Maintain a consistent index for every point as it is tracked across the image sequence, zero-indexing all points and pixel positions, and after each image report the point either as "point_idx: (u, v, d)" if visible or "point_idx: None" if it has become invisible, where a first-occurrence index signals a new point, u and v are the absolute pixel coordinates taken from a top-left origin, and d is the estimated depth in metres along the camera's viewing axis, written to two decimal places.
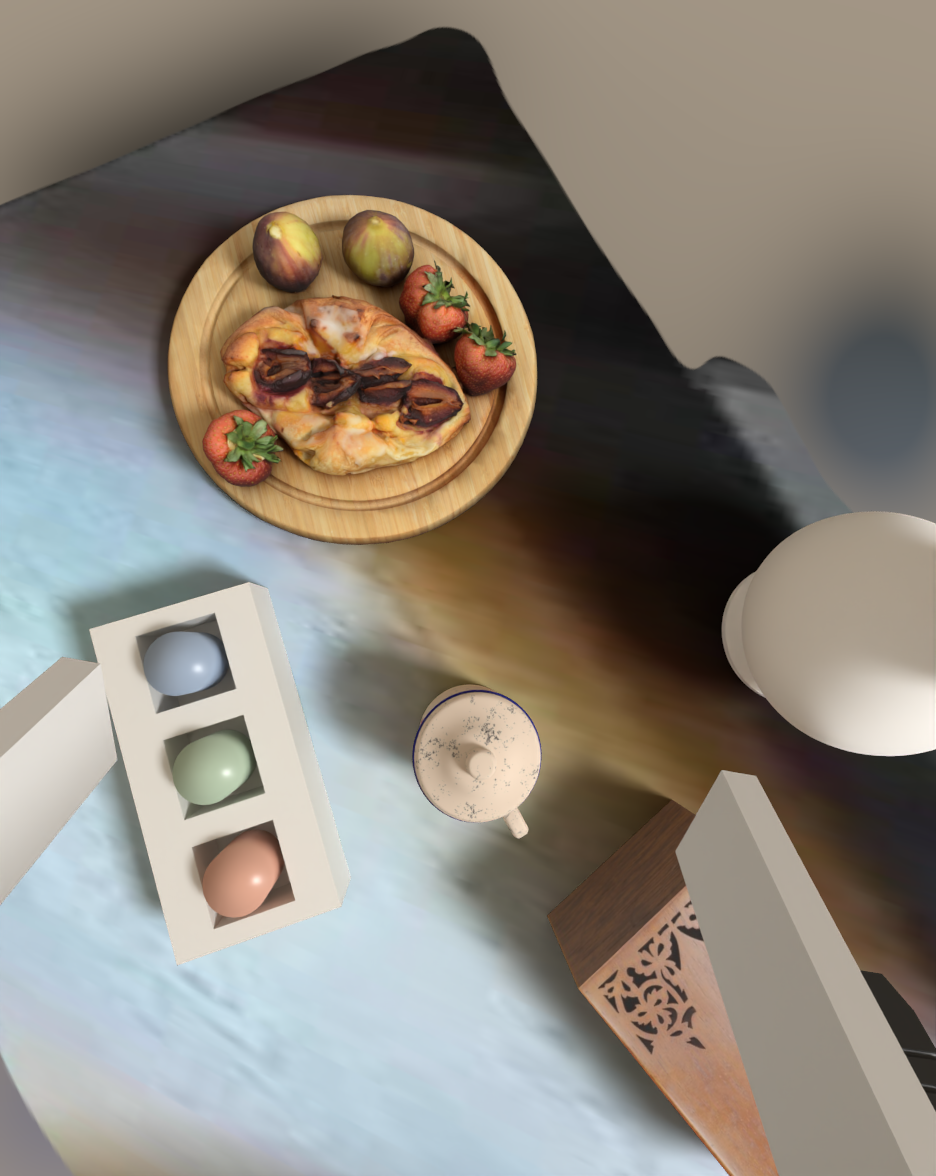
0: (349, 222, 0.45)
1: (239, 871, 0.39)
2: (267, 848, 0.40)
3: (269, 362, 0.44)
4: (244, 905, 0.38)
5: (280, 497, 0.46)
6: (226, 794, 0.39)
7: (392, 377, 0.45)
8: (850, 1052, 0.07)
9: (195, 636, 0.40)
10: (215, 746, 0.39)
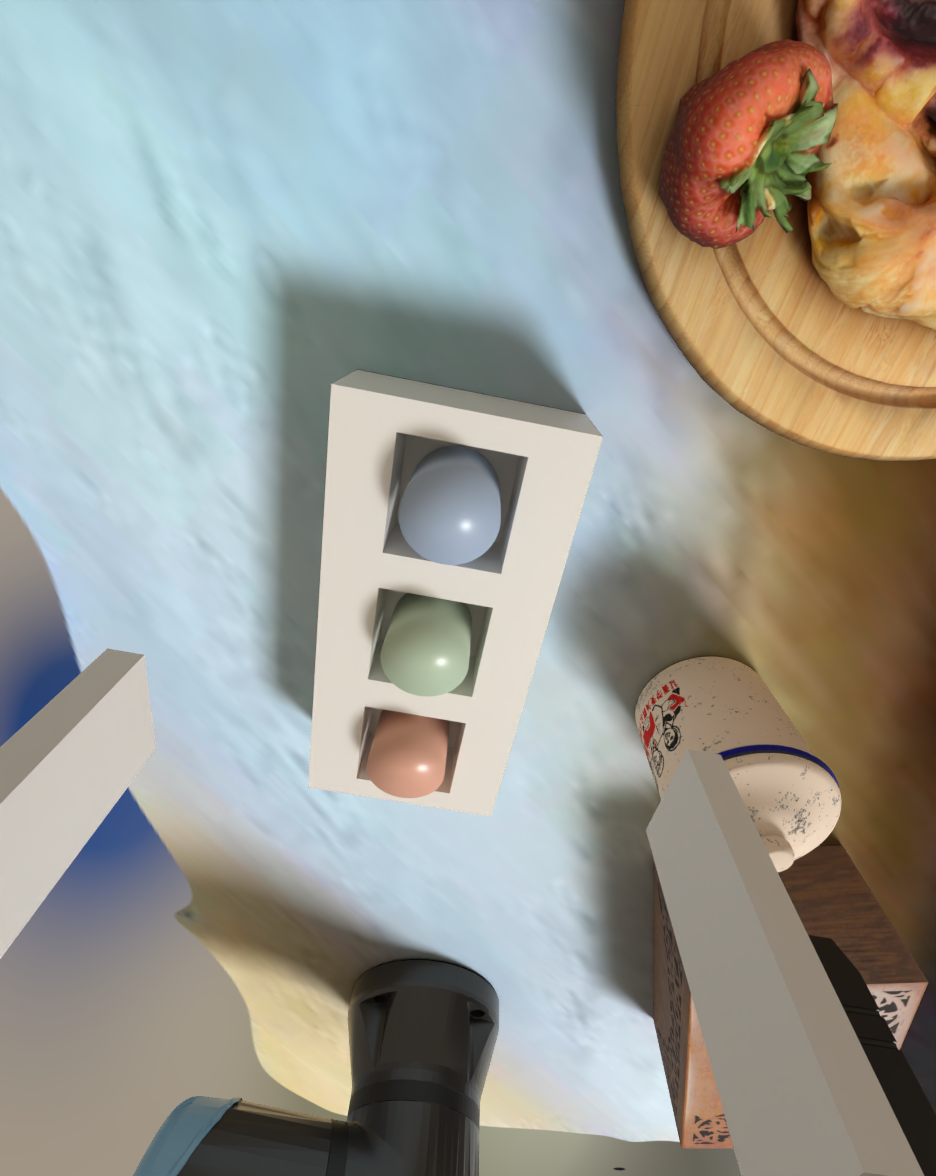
0: None
1: (414, 764, 0.32)
2: (444, 741, 0.33)
3: None
4: (404, 790, 0.33)
5: (713, 279, 0.24)
6: (436, 694, 0.29)
7: None
8: (790, 1005, 0.08)
9: (493, 493, 0.24)
10: (449, 641, 0.28)
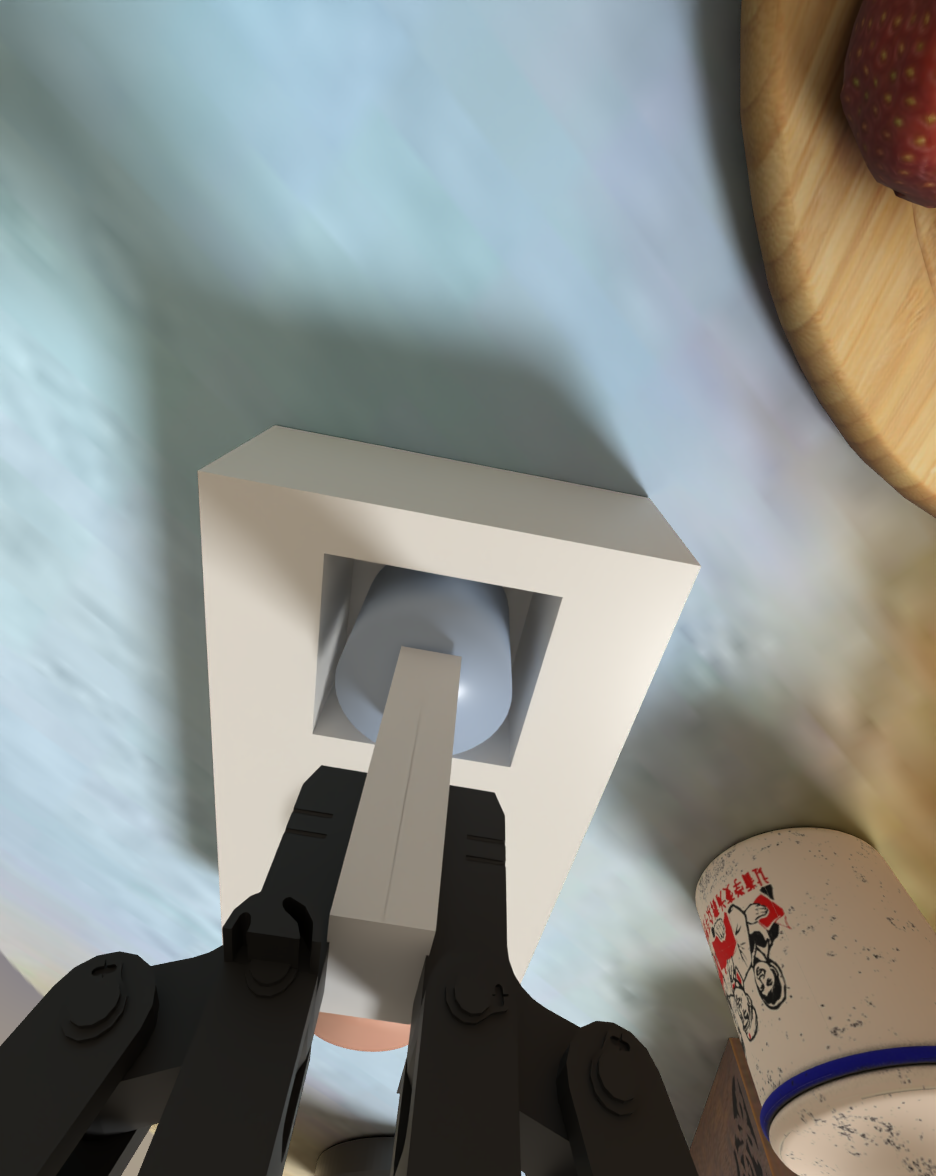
0: None
1: None
2: None
3: None
4: (361, 1043, 0.22)
5: (906, 277, 0.13)
6: None
7: None
8: (400, 823, 0.09)
9: (500, 653, 0.14)
10: None
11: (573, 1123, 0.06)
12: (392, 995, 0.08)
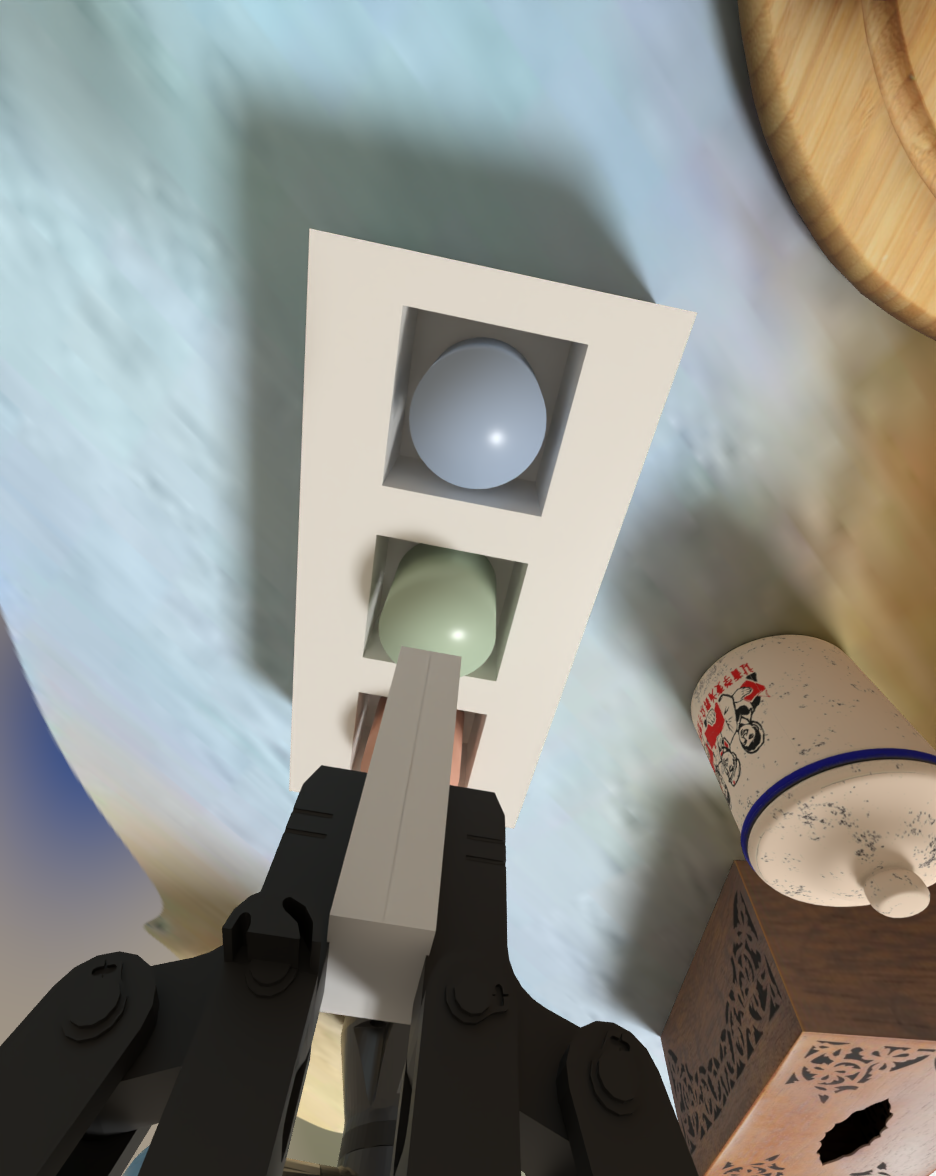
0: None
1: None
2: (459, 736, 0.26)
3: None
4: None
5: (860, 78, 0.16)
6: None
7: None
8: (400, 823, 0.09)
9: (538, 387, 0.18)
10: (471, 606, 0.21)
11: (573, 1123, 0.06)
12: (392, 996, 0.08)
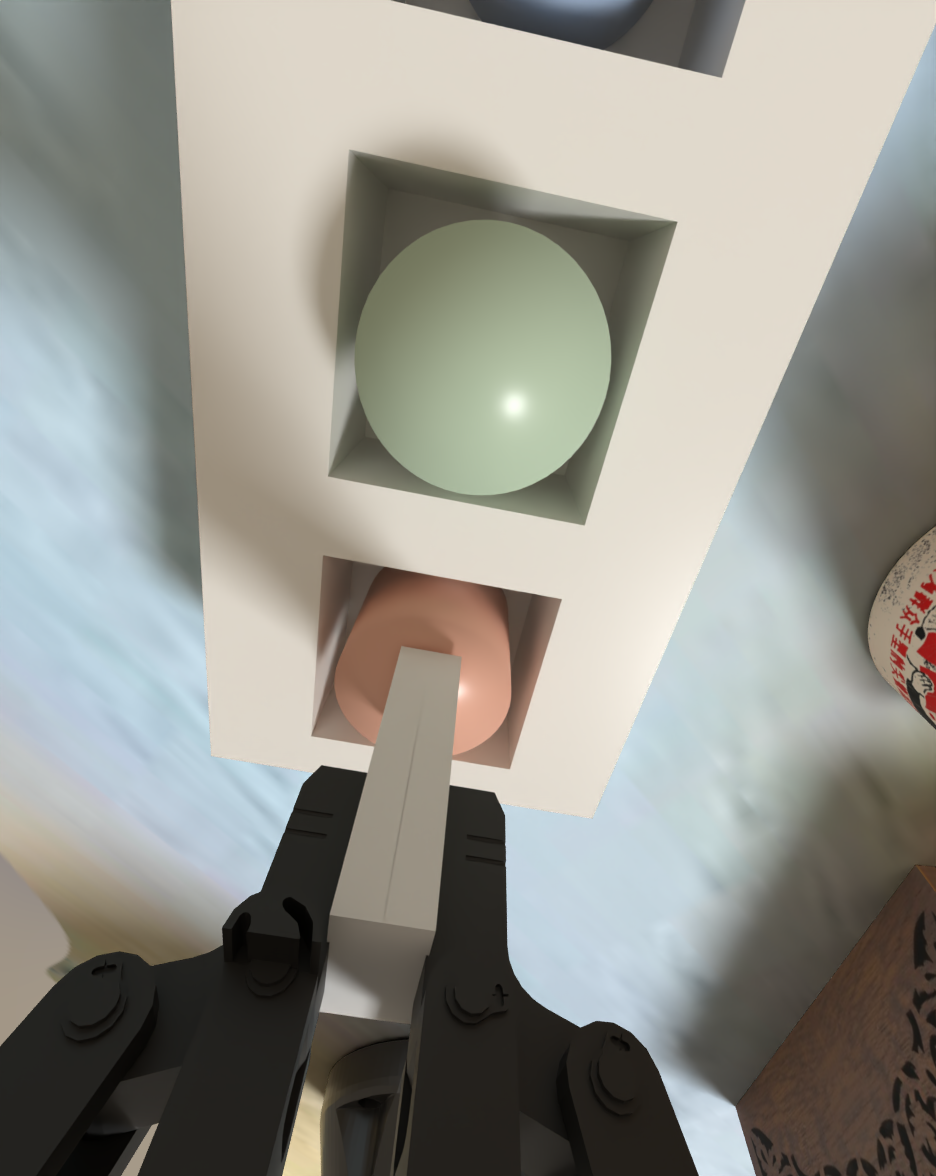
0: None
1: None
2: (505, 633, 0.15)
3: None
4: None
5: None
6: (509, 487, 0.11)
7: None
8: (400, 823, 0.09)
9: None
10: (561, 292, 0.09)
11: (573, 1123, 0.06)
12: (392, 996, 0.08)
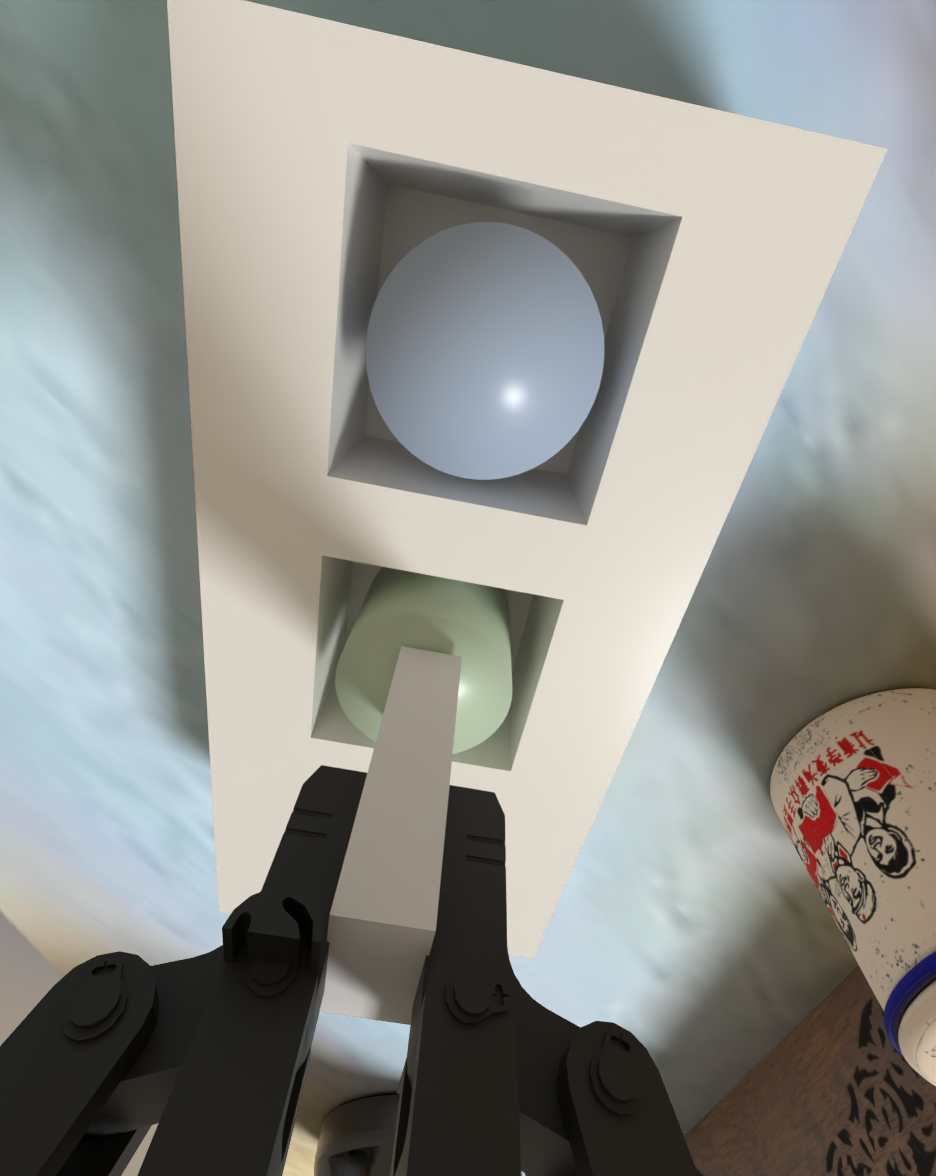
0: None
1: None
2: None
3: None
4: None
5: None
6: None
7: None
8: (400, 823, 0.09)
9: (591, 295, 0.10)
10: (474, 651, 0.14)
11: (573, 1123, 0.06)
12: (392, 995, 0.08)
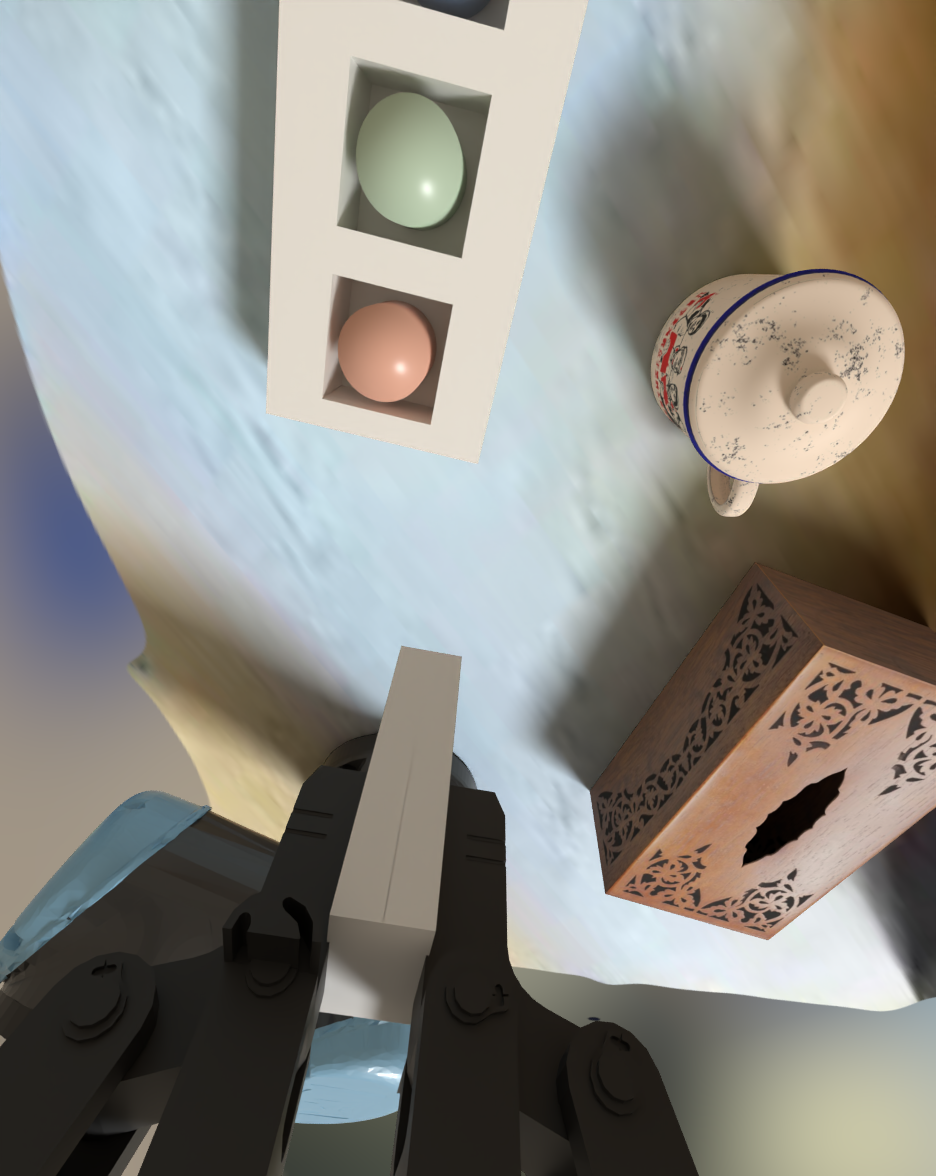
0: None
1: (392, 344, 0.28)
2: (429, 337, 0.29)
3: None
4: (380, 388, 0.29)
5: None
6: (421, 220, 0.25)
7: None
8: (400, 823, 0.09)
9: None
10: (438, 125, 0.23)
11: (573, 1123, 0.06)
12: (392, 996, 0.08)
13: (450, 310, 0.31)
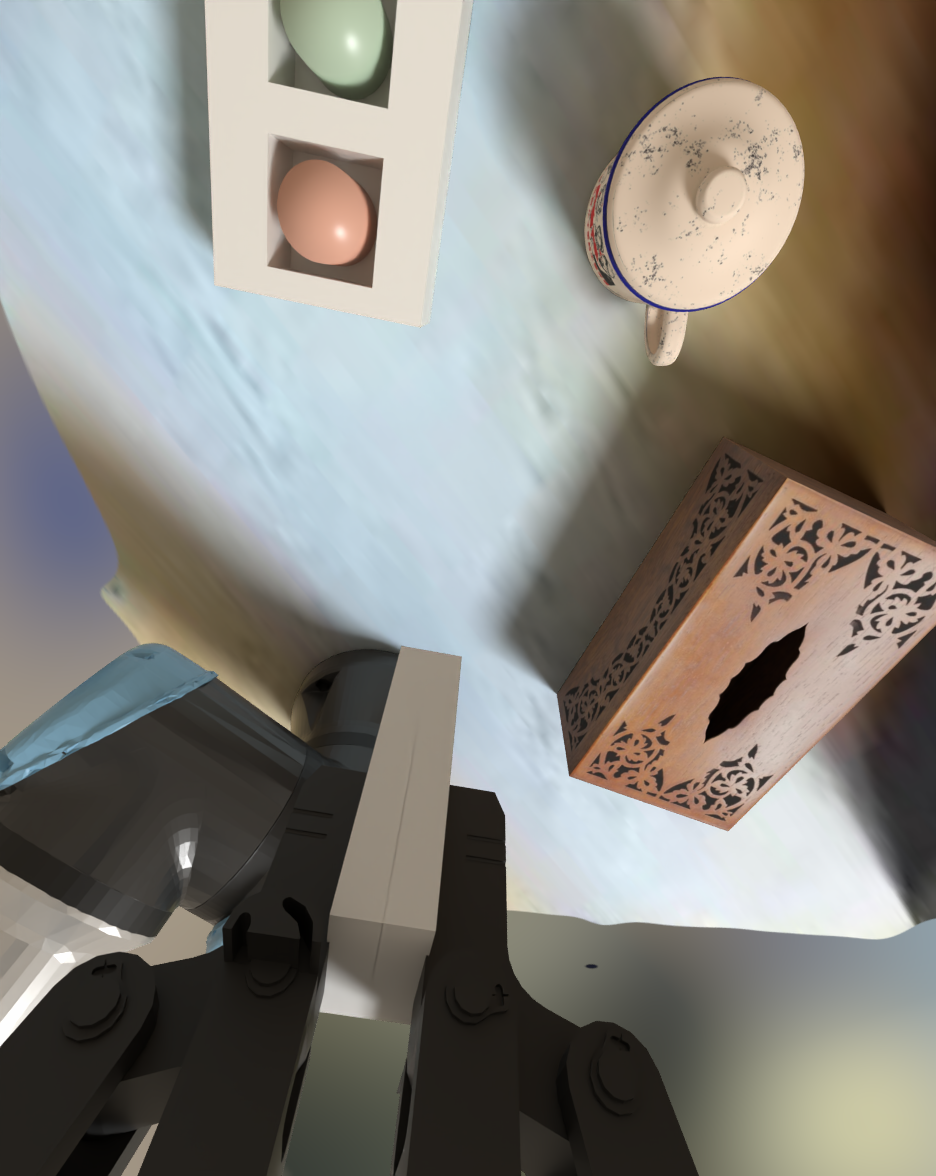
0: None
1: (328, 200, 0.29)
2: (366, 200, 0.30)
3: None
4: (320, 249, 0.30)
5: None
6: (346, 68, 0.26)
7: None
8: (400, 823, 0.09)
9: None
10: None
11: (573, 1123, 0.06)
12: (391, 996, 0.08)
13: None
